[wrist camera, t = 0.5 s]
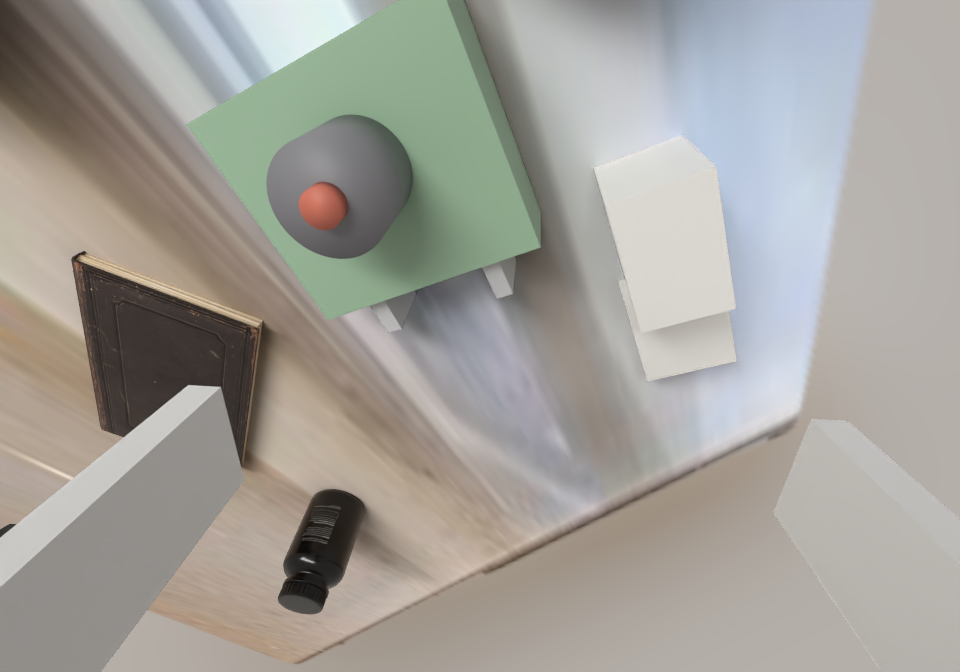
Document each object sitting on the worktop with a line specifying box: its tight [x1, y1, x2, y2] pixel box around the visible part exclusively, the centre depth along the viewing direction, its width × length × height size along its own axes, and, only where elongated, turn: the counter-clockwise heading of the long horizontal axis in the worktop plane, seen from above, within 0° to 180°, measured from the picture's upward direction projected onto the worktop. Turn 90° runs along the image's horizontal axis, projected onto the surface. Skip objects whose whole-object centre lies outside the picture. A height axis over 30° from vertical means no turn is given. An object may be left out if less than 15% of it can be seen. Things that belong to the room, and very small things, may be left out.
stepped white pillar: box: [594, 135, 737, 381], centre depth 31 cm, size 17×7×7 cm, turn 24°
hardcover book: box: [71, 251, 263, 466], centre depth 46 cm, size 16×23×2 cm
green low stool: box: [186, 0, 541, 333], centre depth 27 cm, size 16×17×12 cm
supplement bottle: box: [278, 490, 364, 614], centre depth 52 cm, size 7×7×12 cm
